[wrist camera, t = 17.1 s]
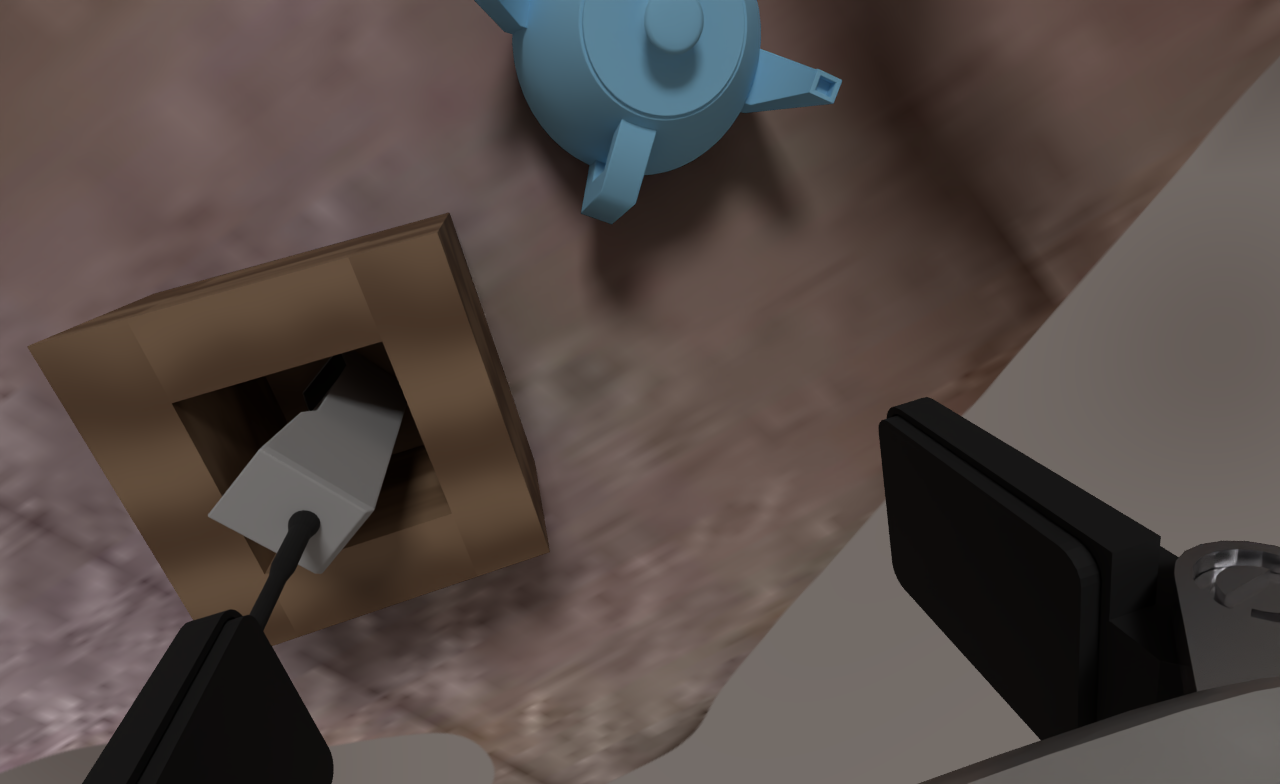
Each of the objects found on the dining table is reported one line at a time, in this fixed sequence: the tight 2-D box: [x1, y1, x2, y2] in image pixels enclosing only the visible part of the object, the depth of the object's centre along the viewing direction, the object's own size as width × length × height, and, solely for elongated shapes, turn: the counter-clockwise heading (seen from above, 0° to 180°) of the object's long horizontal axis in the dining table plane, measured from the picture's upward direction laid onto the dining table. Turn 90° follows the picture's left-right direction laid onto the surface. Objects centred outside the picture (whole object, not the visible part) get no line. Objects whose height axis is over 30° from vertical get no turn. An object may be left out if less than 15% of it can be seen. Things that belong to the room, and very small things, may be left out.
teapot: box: [474, 0, 842, 224], centre depth 36 cm, size 15×15×11 cm
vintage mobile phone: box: [208, 350, 407, 631], centre depth 32 cm, size 4×5×25 cm
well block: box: [27, 213, 550, 646], centre depth 39 cm, size 18×18×12 cm
